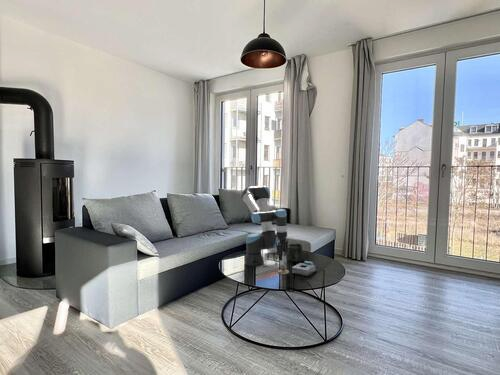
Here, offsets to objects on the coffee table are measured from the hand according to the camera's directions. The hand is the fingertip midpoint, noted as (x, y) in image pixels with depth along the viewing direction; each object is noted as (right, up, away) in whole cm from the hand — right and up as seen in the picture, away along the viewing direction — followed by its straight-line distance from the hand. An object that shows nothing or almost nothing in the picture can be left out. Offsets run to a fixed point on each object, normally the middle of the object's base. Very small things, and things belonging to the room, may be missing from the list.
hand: (283, 263), depth 207 cm
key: (0, -5, 0) cm, 5 cm away
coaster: (0, -6, 0) cm, 6 cm away
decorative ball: (-2, -4, +52) cm, 52 cm away
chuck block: (+16, -5, 0) cm, 16 cm away
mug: (+12, -4, +28) cm, 31 cm away
